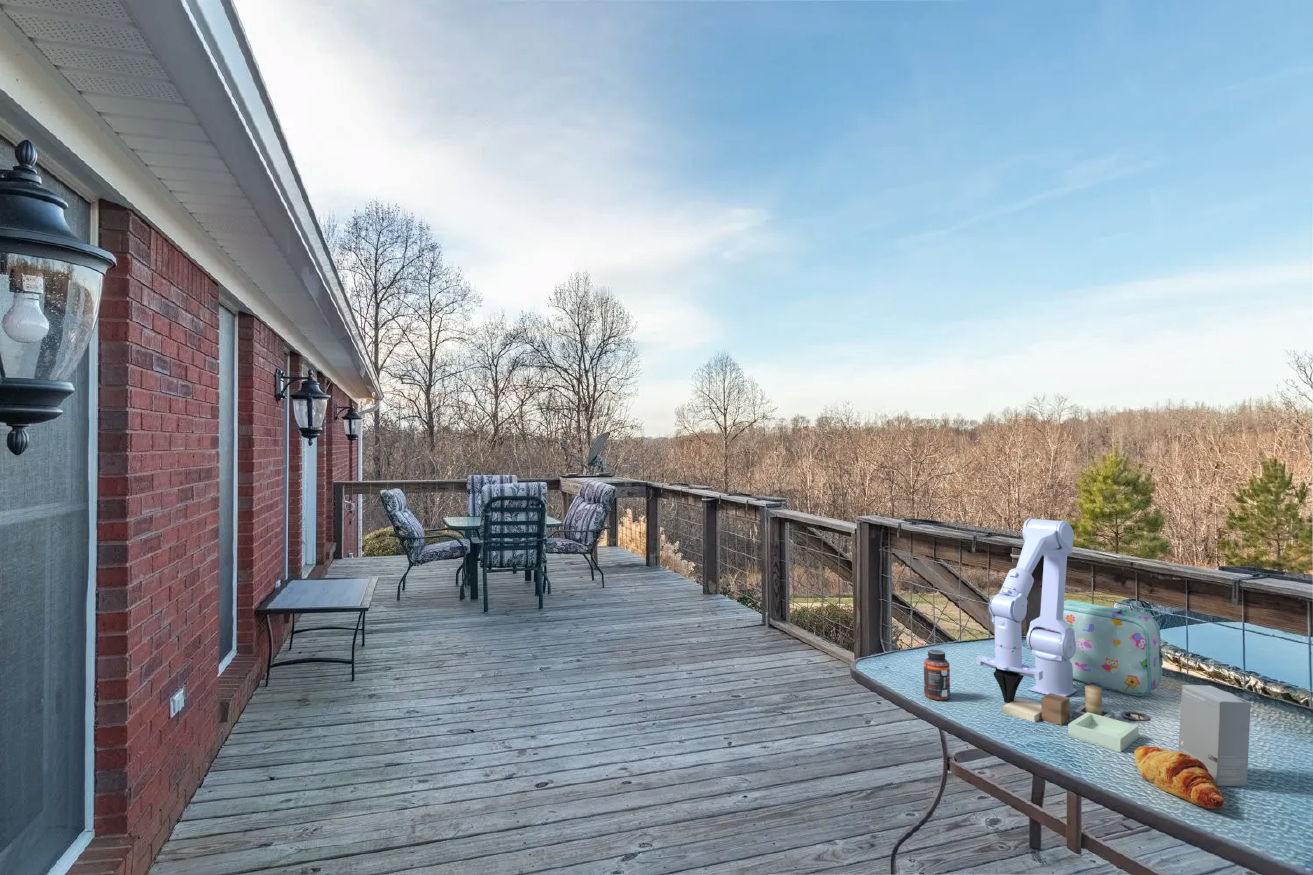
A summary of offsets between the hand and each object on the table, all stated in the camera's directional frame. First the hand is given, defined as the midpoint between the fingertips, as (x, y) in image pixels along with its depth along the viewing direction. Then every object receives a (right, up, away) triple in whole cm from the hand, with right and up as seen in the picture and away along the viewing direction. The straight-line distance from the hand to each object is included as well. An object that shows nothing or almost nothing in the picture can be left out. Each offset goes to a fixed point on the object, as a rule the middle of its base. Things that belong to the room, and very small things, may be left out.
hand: (1009, 702), depth 155 cm
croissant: (+10, 0, -38) cm, 39 cm away
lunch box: (+34, -2, +15) cm, 37 cm away
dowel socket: (+16, -1, -7) cm, 17 cm away
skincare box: (+20, 0, -34) cm, 40 cm away
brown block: (+6, -1, -8) cm, 10 cm away
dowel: (+16, -1, -7) cm, 17 cm away
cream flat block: (+2, -1, -4) cm, 5 cm away
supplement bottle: (-15, -1, +6) cm, 16 cm away
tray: (+11, -1, -17) cm, 20 cm away
